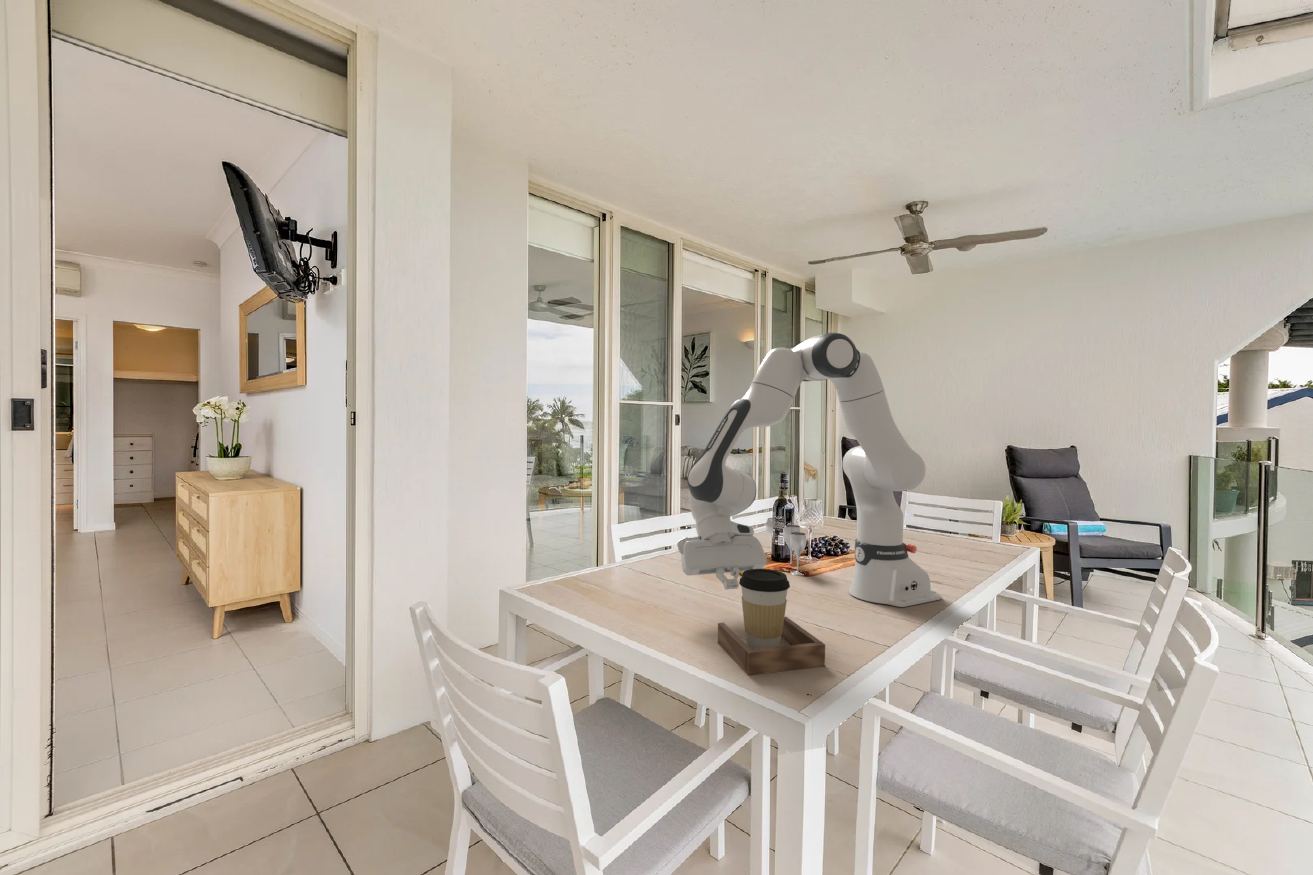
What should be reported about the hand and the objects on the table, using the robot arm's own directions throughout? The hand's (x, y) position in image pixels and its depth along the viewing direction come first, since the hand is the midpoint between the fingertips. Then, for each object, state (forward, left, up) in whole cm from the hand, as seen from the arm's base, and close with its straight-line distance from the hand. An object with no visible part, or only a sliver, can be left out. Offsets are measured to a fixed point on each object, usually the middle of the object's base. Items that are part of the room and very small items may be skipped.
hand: (732, 588), depth 125 cm
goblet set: (-36, -42, -8) cm, 56 cm away
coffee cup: (0, +16, -7) cm, 18 cm away
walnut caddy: (0, +18, -7) cm, 19 cm away
